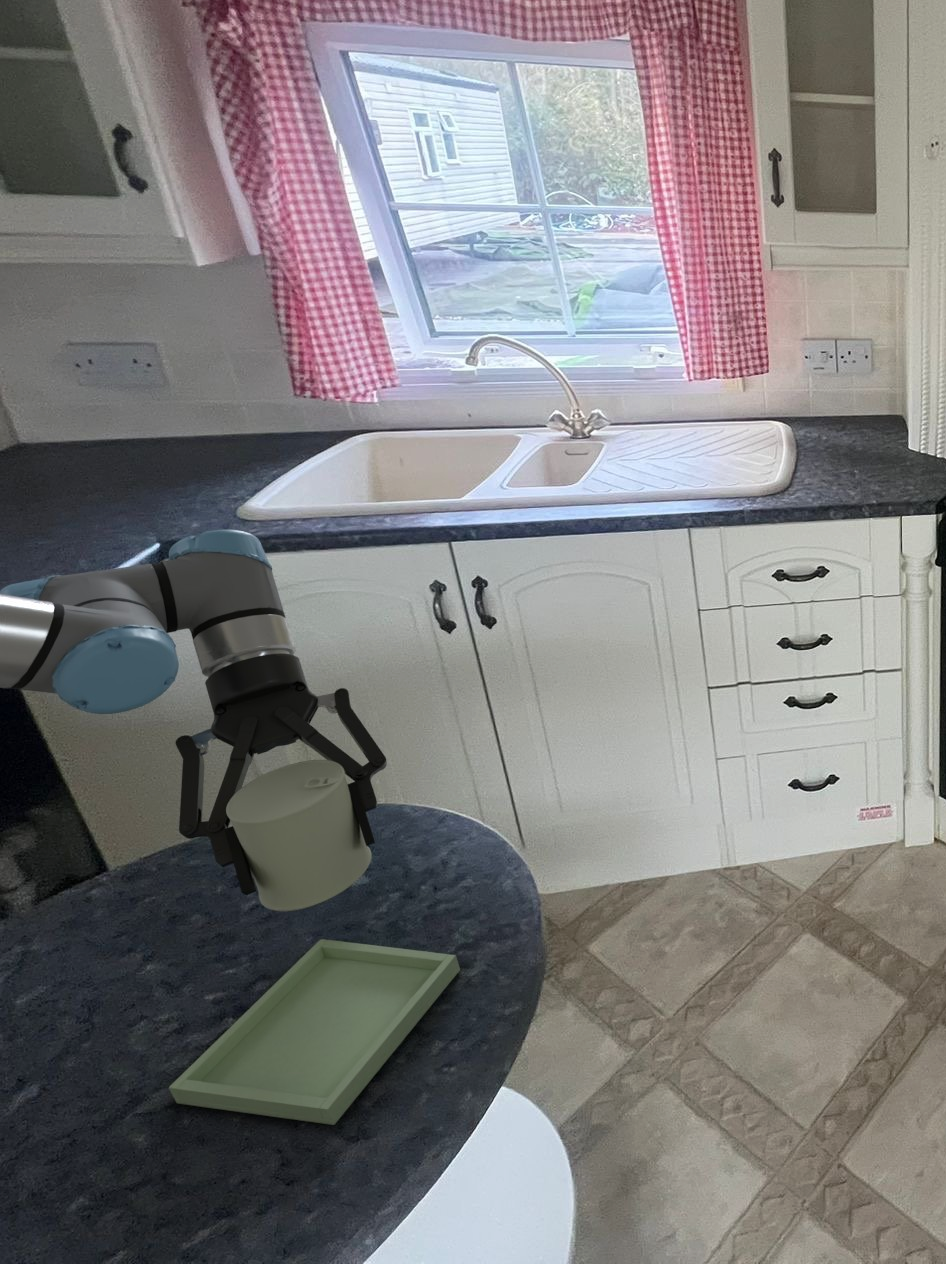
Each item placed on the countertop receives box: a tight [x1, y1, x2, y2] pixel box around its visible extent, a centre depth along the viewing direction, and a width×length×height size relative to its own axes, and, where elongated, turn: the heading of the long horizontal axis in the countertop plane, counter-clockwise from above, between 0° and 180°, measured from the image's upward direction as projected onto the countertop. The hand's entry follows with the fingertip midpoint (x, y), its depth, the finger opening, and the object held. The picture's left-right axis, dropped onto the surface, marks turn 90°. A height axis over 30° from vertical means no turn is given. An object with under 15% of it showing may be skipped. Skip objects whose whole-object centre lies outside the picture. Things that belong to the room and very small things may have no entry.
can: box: [226, 759, 373, 912], centre depth 85 cm, size 9×9×12 cm
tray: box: [168, 938, 461, 1126], centre depth 76 cm, size 15×15×2 cm
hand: (312, 866), depth 83 cm, fingers closed on can, 9 cm apart
